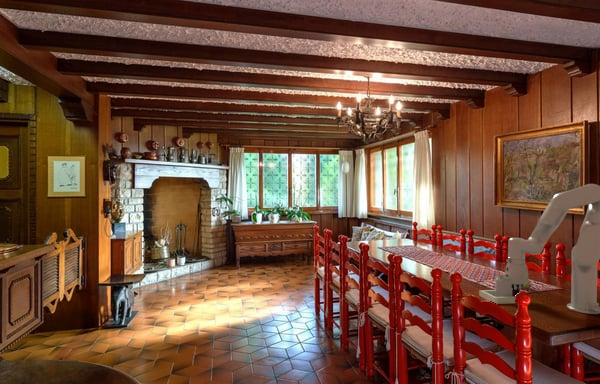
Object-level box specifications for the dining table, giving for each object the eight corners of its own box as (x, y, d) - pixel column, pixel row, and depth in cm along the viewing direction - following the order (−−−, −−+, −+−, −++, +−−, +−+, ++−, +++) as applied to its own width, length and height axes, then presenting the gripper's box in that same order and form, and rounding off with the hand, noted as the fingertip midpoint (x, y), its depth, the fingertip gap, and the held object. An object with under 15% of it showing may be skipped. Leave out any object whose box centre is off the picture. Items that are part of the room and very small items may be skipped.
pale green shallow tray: (515, 303, 178) (515, 297, 178) (494, 303, 177) (494, 297, 177) (498, 295, 191) (498, 289, 191) (479, 295, 190) (479, 290, 190)
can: (497, 296, 190) (497, 273, 190) (513, 299, 185) (513, 276, 185) (493, 299, 184) (493, 276, 184) (510, 302, 179) (510, 278, 179)
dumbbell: (530, 289, 203) (530, 277, 202) (514, 287, 206) (514, 275, 206) (525, 282, 217) (526, 270, 217) (510, 281, 221) (511, 269, 221)
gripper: (507, 263, 180) (506, 299, 181) (535, 263, 182) (534, 298, 182) (498, 260, 188) (497, 294, 188) (524, 260, 189) (524, 294, 189)
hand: (515, 296), depth 185 cm, fingers closed
